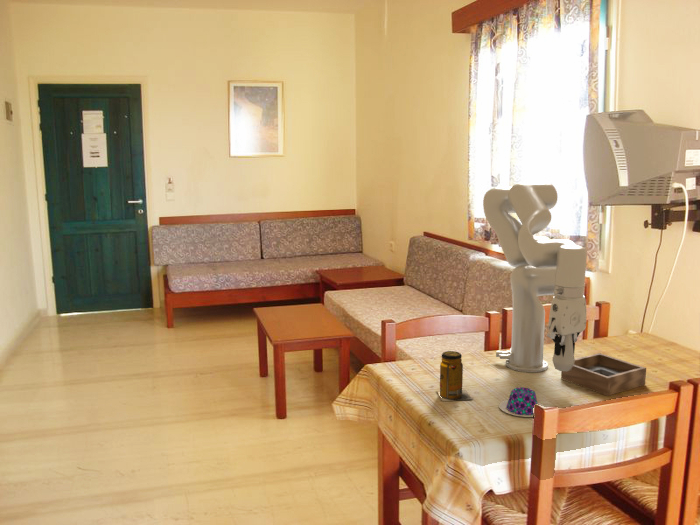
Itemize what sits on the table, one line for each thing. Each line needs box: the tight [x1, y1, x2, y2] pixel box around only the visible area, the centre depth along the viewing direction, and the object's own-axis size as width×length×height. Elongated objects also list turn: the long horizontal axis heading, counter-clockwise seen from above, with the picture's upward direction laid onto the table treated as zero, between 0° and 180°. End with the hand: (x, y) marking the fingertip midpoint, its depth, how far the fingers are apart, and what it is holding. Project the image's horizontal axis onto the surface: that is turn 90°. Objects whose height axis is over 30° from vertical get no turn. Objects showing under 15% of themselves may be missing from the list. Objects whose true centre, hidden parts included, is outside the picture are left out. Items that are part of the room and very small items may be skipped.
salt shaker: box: [552, 334, 575, 372], centre depth 182 cm, size 6×6×13 cm
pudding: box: [498, 387, 546, 418], centre depth 172 cm, size 12×12×5 cm
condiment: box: [439, 350, 474, 402], centre depth 180 cm, size 7×8×12 cm
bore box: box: [560, 352, 647, 397], centre depth 191 cm, size 16×16×5 cm
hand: (563, 355), depth 183 cm, fingers closed on salt shaker, 3 cm apart
